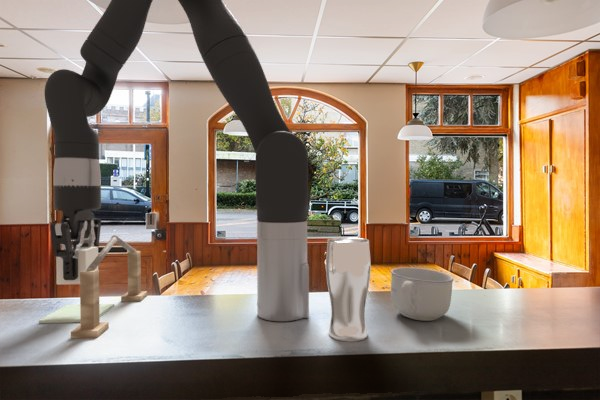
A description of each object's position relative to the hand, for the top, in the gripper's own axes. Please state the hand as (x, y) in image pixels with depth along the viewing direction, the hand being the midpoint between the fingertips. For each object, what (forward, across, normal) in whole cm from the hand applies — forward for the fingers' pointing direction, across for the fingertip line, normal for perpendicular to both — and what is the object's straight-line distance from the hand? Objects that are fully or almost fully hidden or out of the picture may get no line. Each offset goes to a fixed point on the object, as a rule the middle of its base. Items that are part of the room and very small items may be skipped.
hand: (78, 275), depth 70 cm
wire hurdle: (+7, 0, -6) cm, 10 cm away
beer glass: (+7, -14, -48) cm, 50 cm away
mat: (+7, 0, 0) cm, 7 cm away
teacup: (+7, -7, -62) cm, 62 cm away
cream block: (+1, 0, 0) cm, 1 cm away
